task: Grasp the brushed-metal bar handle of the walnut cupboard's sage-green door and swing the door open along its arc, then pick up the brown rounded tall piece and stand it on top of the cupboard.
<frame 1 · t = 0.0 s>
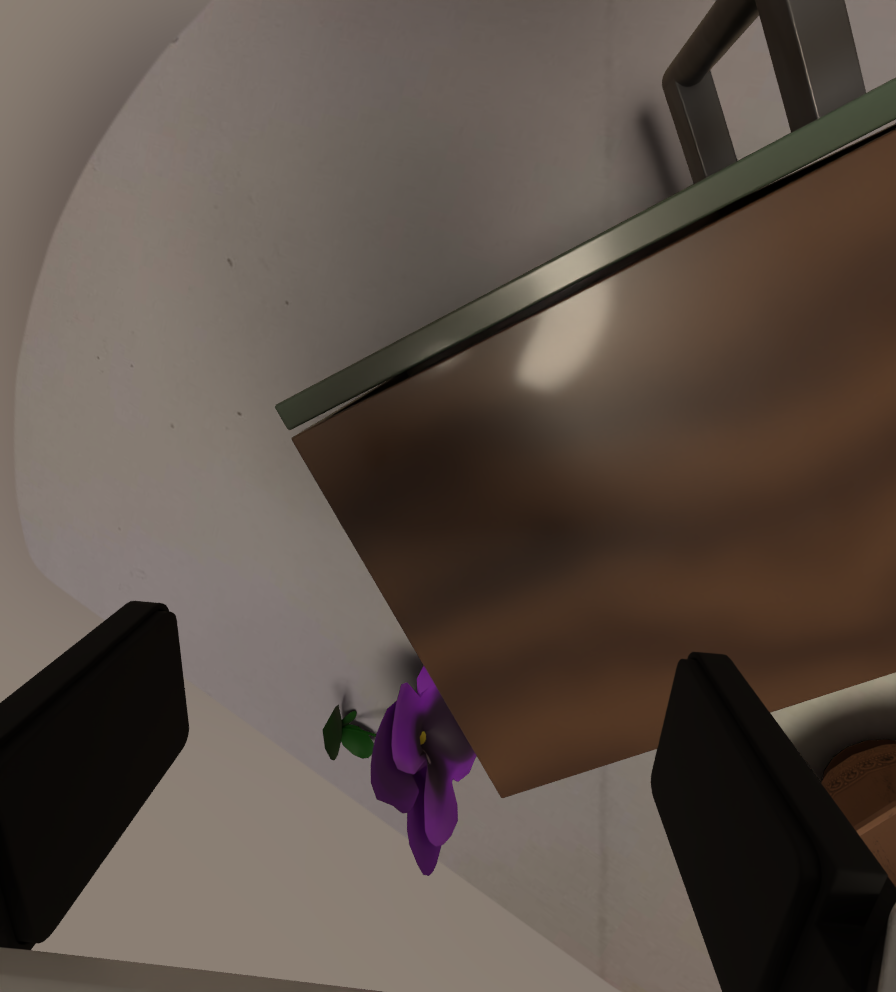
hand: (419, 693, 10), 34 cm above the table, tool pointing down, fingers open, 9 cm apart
flower: (404, 702, 52), on the table
cupboard door: (545, 204, 27), point 12 cm above the table, hinge at 0.0°
cupboard: (595, 405, 41), on the table
bowl: (870, 773, 51), on the table
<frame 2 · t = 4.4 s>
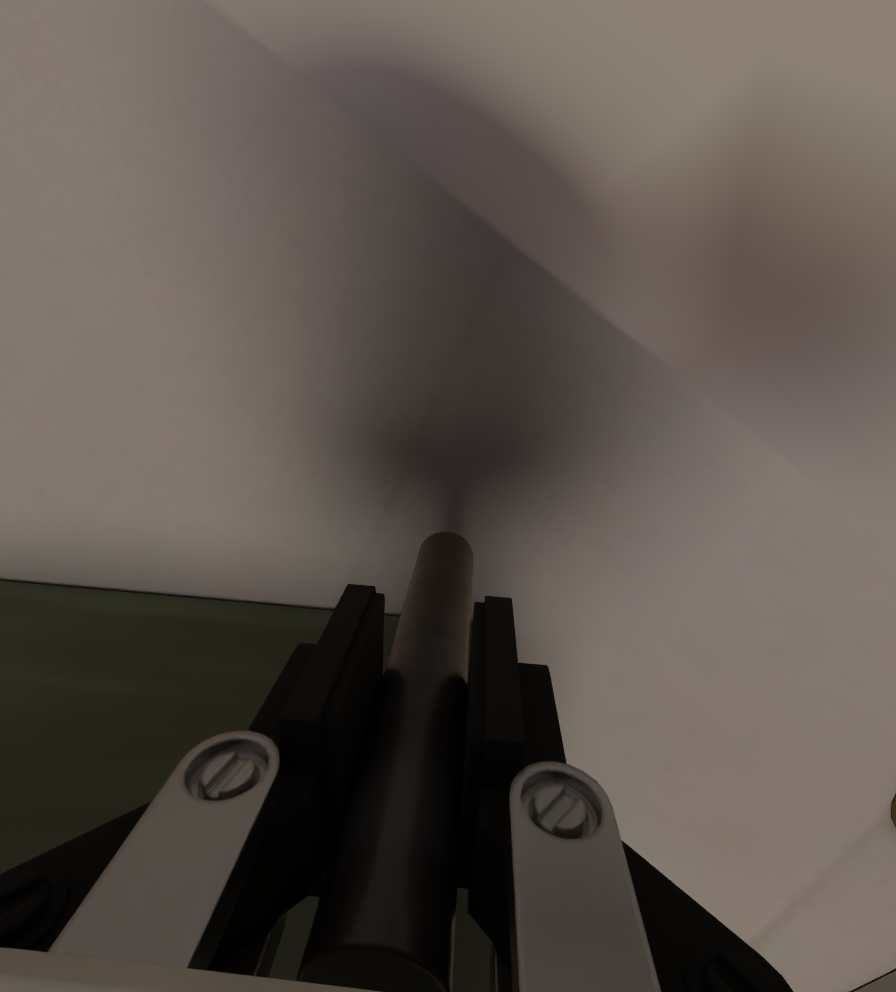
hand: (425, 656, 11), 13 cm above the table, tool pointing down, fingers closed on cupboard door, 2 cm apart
cupboard door: (18, 736, 13), point 12 cm above the table, hinge at 0.0°, touching gripper
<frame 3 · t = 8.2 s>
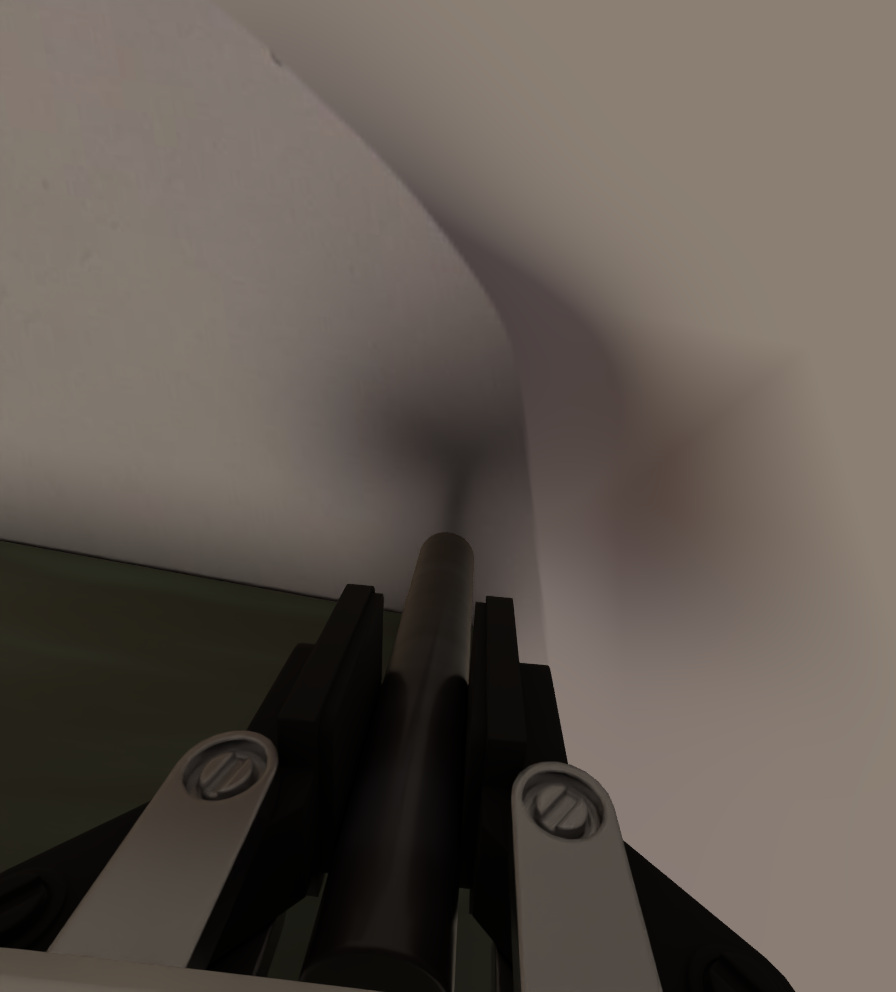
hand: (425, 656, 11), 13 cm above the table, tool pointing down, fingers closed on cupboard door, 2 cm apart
cupboard door: (1, 701, 13), point 12 cm above the table, hinge at 40.5°, touching gripper
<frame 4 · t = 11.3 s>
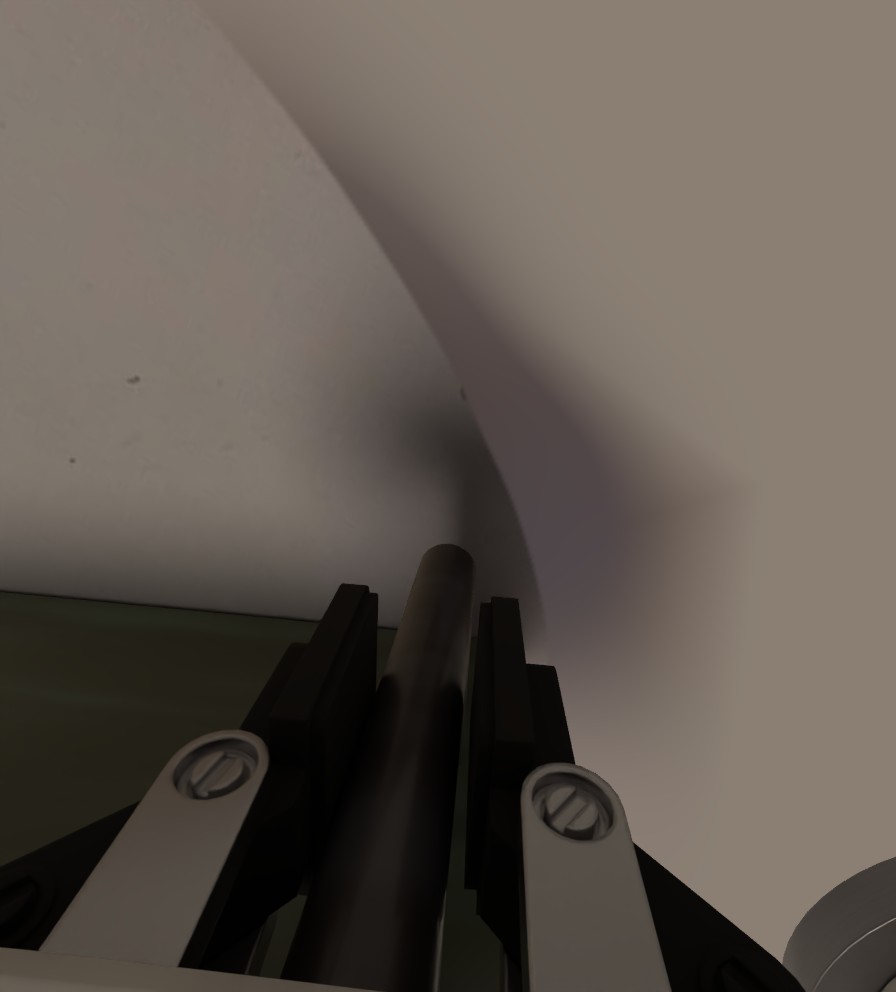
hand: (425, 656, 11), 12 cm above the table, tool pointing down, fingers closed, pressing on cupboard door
cupboard door: (6, 753, 13), point 12 cm above the table, hinge at 70.4°, touching gripper
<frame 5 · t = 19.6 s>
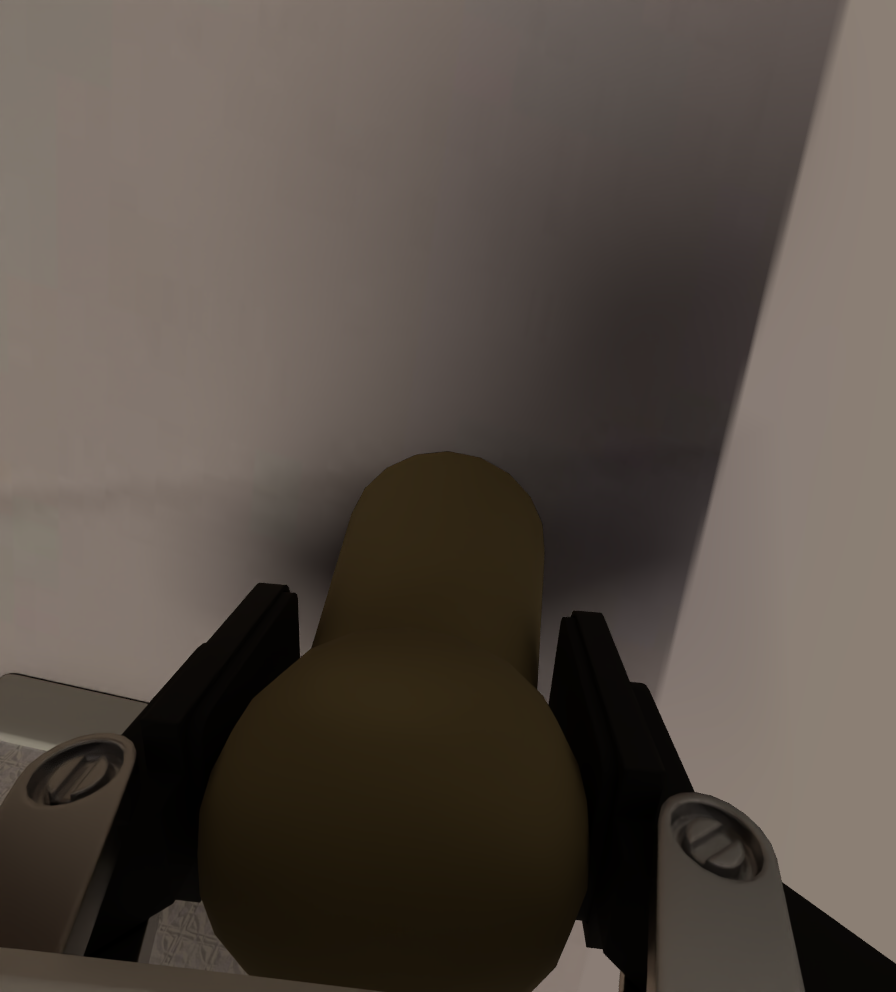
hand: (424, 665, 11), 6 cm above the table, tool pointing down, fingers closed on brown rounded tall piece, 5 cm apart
white box red top: (204, 882, 22), on the table
brown rounded tall piece: (445, 545, 16), on the table, touching gripper
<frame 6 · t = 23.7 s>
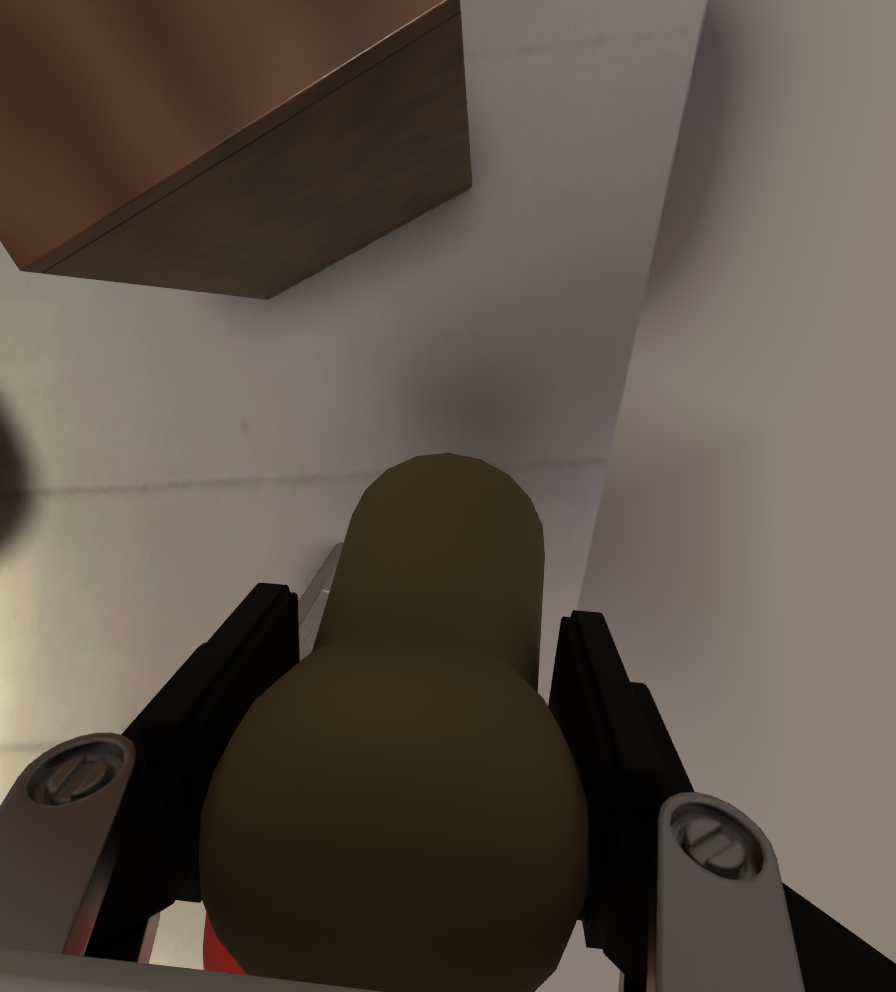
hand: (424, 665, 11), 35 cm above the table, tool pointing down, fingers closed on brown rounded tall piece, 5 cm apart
white box red top: (402, 639, 52), on the table
cupboard: (279, 64, 37), on the table
brown rounded tall piece: (445, 546, 16), point 29 cm above the table, touching gripper
when the fingers open (30 cm above the table, at t = 28.0 s): brown rounded tall piece stays where it is, resting on cupboard.
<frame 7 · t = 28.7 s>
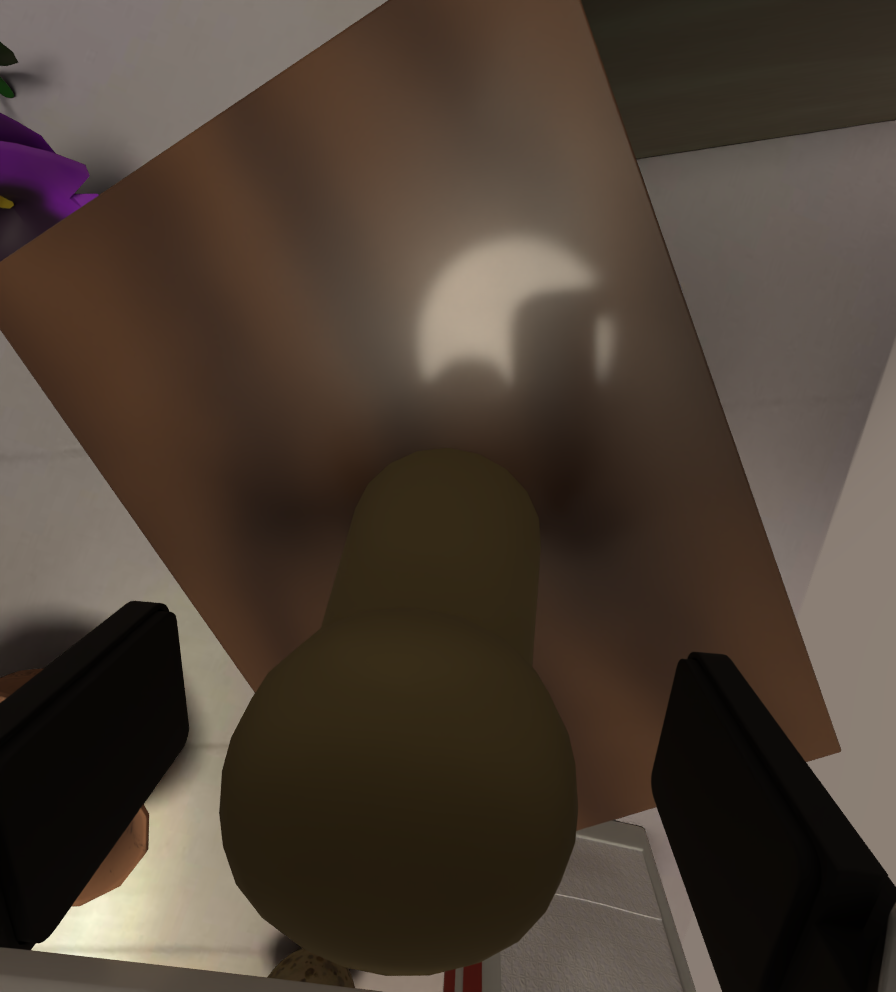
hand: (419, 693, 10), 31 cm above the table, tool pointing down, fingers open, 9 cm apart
flower: (49, 180, 37), on the table
white box red top: (541, 871, 54), on the table
cupboard: (467, 414, 40), on the table
bowl: (101, 709, 51), on the table
brown rounded tall piece: (445, 538, 17), point 24 cm above the table, touching cupboard
decorative egg: (321, 951, 60), on the table
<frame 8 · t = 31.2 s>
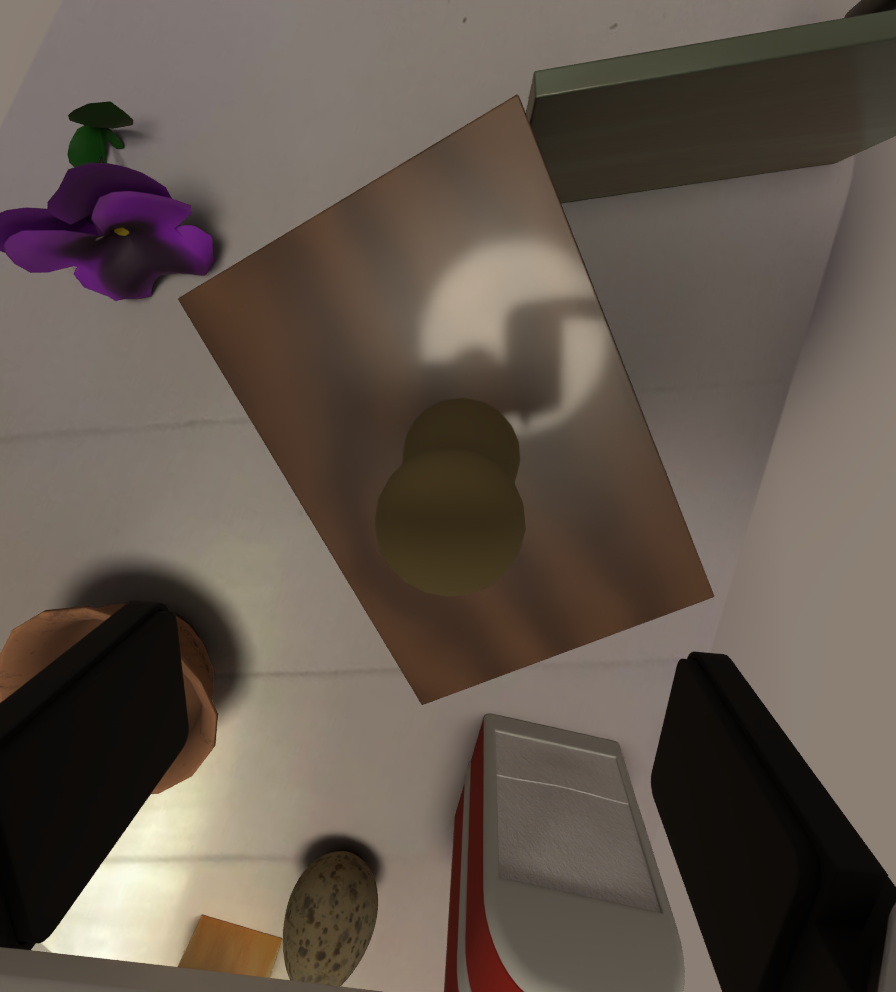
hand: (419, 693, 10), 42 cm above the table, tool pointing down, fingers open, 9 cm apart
bread: (227, 976, 80), on the table
flower: (146, 211, 47), on the table
cupboard door: (735, 63, 31), point 12 cm above the table, hinge at 70.4°
white box red top: (533, 783, 64), on the table
cupboard: (471, 394, 50), on the table
bowl: (167, 643, 61), on the table
brown rounded tall piece: (461, 456, 27), point 24 cm above the table, touching cupboard
decorative egg: (346, 858, 70), on the table
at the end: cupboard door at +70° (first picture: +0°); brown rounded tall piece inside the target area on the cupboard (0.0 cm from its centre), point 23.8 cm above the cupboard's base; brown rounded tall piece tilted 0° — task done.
